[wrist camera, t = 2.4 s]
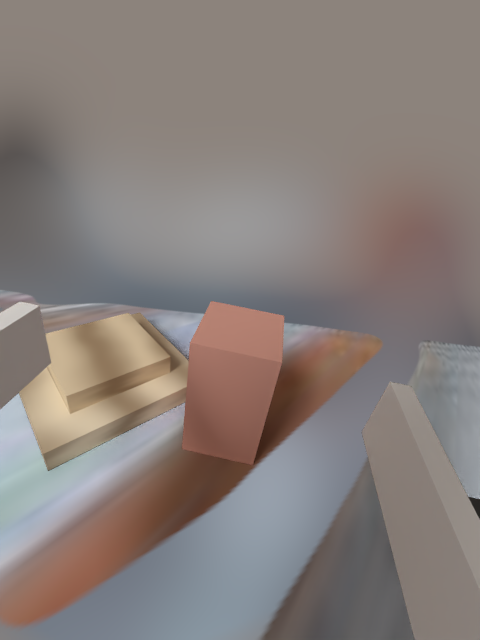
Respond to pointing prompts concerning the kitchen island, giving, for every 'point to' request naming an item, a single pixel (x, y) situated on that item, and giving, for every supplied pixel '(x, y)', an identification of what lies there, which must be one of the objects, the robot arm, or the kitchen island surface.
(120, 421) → the plinth
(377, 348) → the kitchen island surface
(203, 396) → the pillar
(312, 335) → the kitchen island surface
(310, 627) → the kitchen island surface
